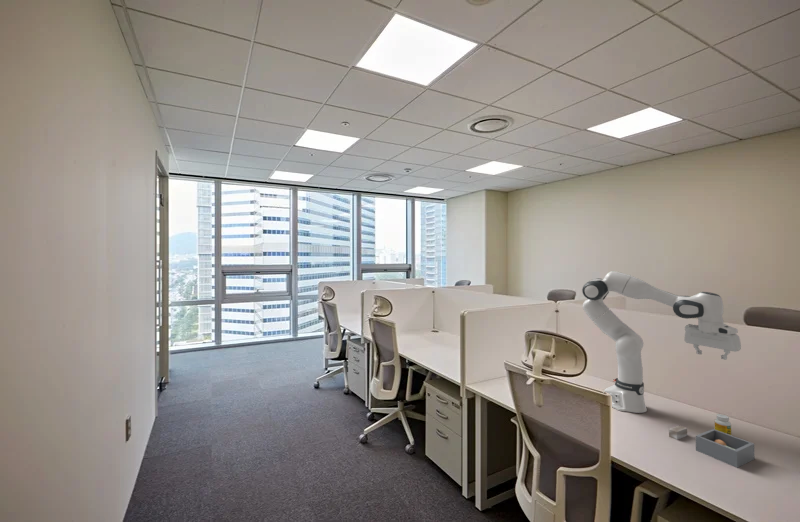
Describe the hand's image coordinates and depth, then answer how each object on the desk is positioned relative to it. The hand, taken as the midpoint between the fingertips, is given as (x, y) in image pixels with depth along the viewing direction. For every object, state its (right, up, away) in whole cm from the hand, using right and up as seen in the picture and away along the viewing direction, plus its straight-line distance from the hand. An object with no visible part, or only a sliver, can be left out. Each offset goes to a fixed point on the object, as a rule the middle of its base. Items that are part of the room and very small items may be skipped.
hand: (711, 356), depth 161 cm
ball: (-14, -33, -20) cm, 41 cm away
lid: (-23, -34, -9) cm, 42 cm away
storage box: (-16, -34, -23) cm, 44 cm away
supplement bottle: (-3, -34, -9) cm, 35 cm away
